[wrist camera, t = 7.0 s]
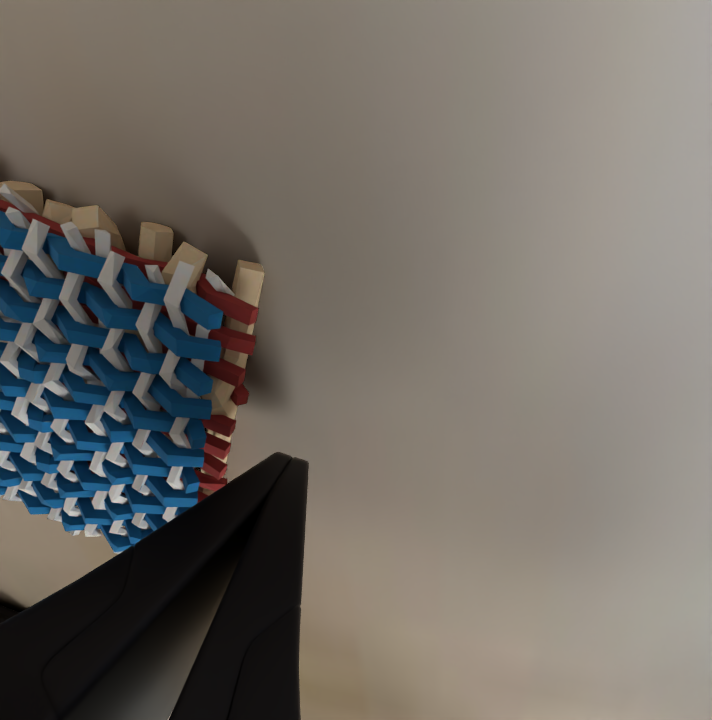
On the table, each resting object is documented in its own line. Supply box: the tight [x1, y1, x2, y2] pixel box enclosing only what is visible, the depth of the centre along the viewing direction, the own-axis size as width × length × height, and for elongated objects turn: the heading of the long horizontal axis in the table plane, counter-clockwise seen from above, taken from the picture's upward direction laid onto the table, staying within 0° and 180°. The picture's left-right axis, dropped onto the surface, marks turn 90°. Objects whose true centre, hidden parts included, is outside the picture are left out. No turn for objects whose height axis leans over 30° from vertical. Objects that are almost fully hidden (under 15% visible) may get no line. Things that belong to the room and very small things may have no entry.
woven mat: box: [0, 181, 265, 554], centre depth 9 cm, size 10×11×2 cm
